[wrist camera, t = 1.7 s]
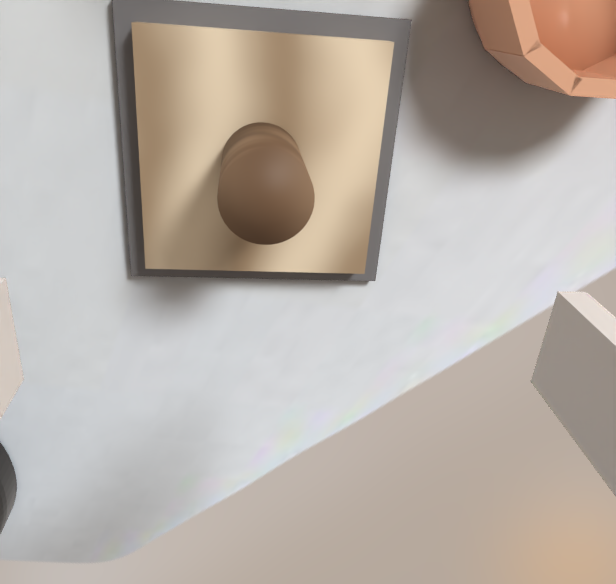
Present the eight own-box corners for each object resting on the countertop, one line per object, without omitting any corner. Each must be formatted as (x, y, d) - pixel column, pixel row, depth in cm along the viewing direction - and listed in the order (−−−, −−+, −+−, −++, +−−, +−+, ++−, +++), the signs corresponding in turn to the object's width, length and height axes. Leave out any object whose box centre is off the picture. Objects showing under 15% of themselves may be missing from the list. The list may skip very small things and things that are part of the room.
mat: (132, 271, 33) (131, 275, 32) (114, -5, 27) (111, -5, 26) (373, 276, 35) (375, 281, 34) (408, 19, 28) (411, 19, 28)
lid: (148, 259, 32) (125, 324, 26) (135, 21, 27) (102, 28, 20) (360, 265, 33) (388, 327, 27) (388, 41, 28) (432, 52, 22)
